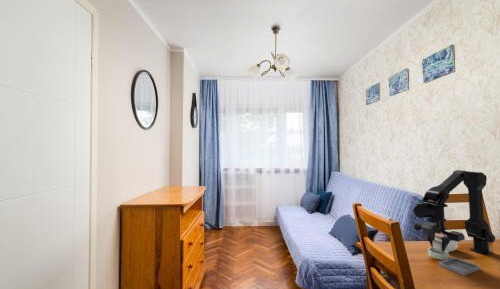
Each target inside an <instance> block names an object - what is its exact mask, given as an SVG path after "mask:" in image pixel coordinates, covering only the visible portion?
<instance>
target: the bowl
mask: <svg viewBox="0 0 500 289" xmlns="http://www.w3.org/2000/svg"><path fill="white" fill-rule="evenodd" d="M427 255H428V256H429V257H430V258H433V259H437V260H442V261H445V260H448V259H450V254H449V252H448V251H446V250H445V251H444V253H437V252H434V251H433V248H432V246H431V247H428V248H427Z"/></svg>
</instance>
